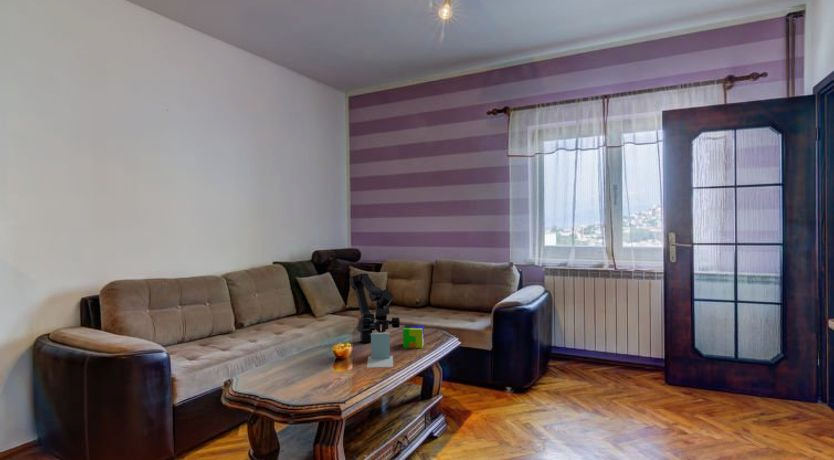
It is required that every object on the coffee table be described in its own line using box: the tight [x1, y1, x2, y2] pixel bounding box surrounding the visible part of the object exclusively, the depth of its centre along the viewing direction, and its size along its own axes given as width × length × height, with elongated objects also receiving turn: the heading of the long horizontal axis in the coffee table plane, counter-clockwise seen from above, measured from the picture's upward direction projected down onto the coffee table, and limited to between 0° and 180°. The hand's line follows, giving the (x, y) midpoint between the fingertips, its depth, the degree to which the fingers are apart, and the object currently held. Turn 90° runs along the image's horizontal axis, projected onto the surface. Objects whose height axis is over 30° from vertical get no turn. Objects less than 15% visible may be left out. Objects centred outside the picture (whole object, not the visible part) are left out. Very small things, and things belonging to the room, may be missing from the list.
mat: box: [366, 355, 394, 368], centre depth 216 cm, size 17×12×1 cm
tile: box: [370, 332, 391, 359], centre depth 221 cm, size 2×9×12 cm, turn 93°
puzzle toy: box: [402, 324, 425, 350], centre depth 244 cm, size 10×10×10 cm
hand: (381, 337), depth 225 cm, fingers closed
